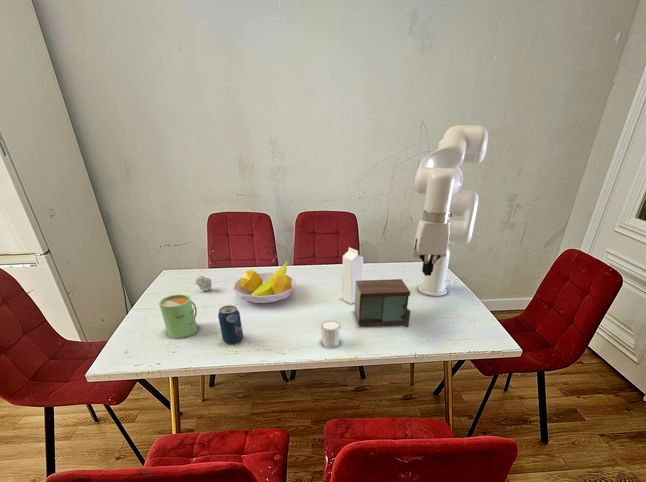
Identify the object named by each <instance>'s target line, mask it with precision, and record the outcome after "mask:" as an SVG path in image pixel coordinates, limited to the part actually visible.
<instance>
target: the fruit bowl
mask: <svg viewBox="0 0 646 482" xmlns="http://www.w3.org/2000/svg"><path fill="white" fill-rule="evenodd" d="M288 264H289V262H288V261H285V262H284V264H283V265H282V266H281V267H280V268H278V269H277V270H276V271H275V272H262V273H258V272H256V271H255V270H252V269H250V270H246V271H244V273H243V274H242V275H241V277H240V278H239V279H237V280H235V282H234V285H233V287H232V290H233V291H234V292H235V293H236V295H237V296H238V298H240V299H242V300H245V301H248V302H251V303H255V304H272V303H275V302H278V301H281V300H284V299H288V298H289V296H290V295H292V293H293V292H294V291H295V290H296V281H297V280H296V278H293V277H291V276H289V275H287V269H288V268H287V267H288Z"/></svg>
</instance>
